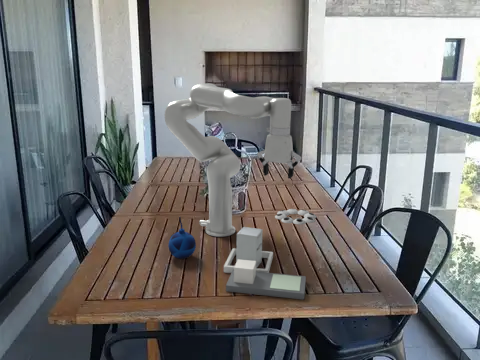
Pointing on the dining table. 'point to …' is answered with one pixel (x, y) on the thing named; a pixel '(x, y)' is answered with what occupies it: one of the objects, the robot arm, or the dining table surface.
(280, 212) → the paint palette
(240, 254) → the supplement box
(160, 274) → the dining table surface
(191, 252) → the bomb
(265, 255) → the white square frame
